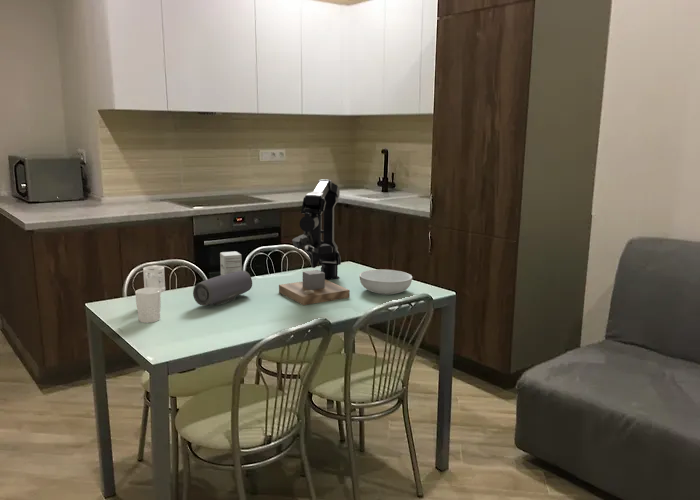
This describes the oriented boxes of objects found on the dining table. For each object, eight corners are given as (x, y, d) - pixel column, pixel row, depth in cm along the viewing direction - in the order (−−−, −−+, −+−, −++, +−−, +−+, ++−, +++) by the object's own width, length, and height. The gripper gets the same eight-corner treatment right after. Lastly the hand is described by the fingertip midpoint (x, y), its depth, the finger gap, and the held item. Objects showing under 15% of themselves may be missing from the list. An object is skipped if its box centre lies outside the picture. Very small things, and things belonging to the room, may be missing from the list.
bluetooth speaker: (235, 292, 230) (234, 267, 228) (253, 296, 225) (253, 270, 223) (192, 306, 211) (191, 279, 209) (211, 311, 206) (210, 283, 204)
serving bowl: (408, 301, 222) (409, 283, 221) (354, 297, 226) (354, 279, 225) (414, 287, 242) (414, 270, 241) (364, 283, 246) (364, 267, 245)
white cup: (153, 314, 201) (151, 286, 199) (166, 319, 196) (165, 290, 194) (132, 320, 195) (130, 290, 193) (145, 325, 190) (143, 295, 188)
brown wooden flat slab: (323, 285, 241) (323, 276, 241) (349, 297, 225) (349, 287, 224) (279, 292, 231) (278, 282, 230) (303, 305, 214) (303, 295, 214)
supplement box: (220, 281, 245) (219, 252, 242) (238, 280, 248) (237, 250, 245) (224, 286, 238) (223, 255, 236) (242, 284, 241) (241, 254, 239)
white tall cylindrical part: (147, 309, 207) (145, 267, 203) (143, 304, 212) (141, 263, 209) (168, 306, 210) (166, 265, 207) (163, 301, 216) (161, 261, 213)
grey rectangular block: (316, 290, 232) (316, 269, 230) (324, 294, 227) (324, 272, 225) (302, 292, 229) (302, 271, 227) (310, 296, 224) (310, 274, 222)
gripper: (283, 225, 226) (284, 265, 229) (307, 233, 211) (307, 275, 214) (309, 223, 232) (309, 262, 235) (333, 230, 217) (333, 271, 220)
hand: (313, 267), depth 226 cm, fingers closed
